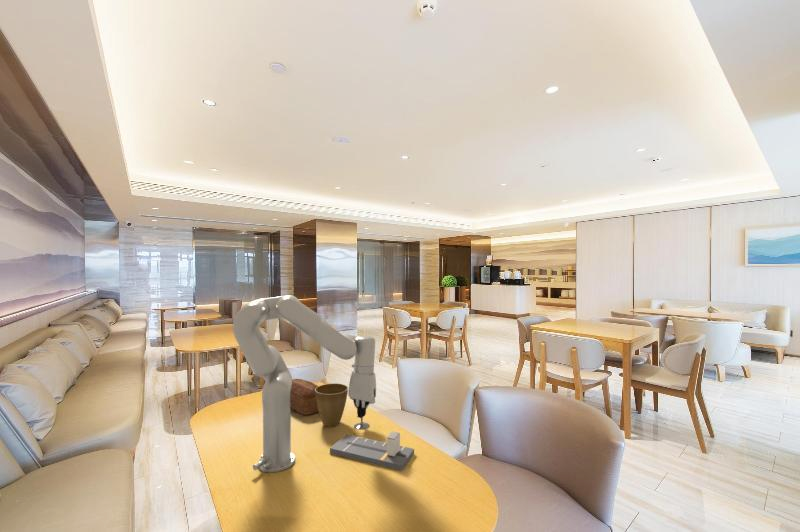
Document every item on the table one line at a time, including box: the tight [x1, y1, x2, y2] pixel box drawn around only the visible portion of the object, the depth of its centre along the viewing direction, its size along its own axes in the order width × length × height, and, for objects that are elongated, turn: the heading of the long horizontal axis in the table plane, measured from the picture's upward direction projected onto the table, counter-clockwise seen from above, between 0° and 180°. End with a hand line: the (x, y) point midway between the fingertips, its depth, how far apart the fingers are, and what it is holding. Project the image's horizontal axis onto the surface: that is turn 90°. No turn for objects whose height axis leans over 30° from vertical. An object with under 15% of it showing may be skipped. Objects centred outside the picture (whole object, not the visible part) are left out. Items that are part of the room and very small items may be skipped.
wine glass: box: [352, 400, 371, 431], centre depth 157 cm, size 8×8×15 cm
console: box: [329, 434, 415, 472], centre depth 134 cm, size 12×30×2 cm, turn 67°
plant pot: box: [315, 383, 349, 428], centre depth 160 cm, size 15×15×16 cm
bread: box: [290, 378, 319, 416], centre depth 179 cm, size 14×28×12 cm, turn 45°
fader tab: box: [386, 431, 401, 456], centre depth 130 cm, size 5×3×6 cm, turn 157°
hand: (361, 416), depth 135 cm, fingers closed
